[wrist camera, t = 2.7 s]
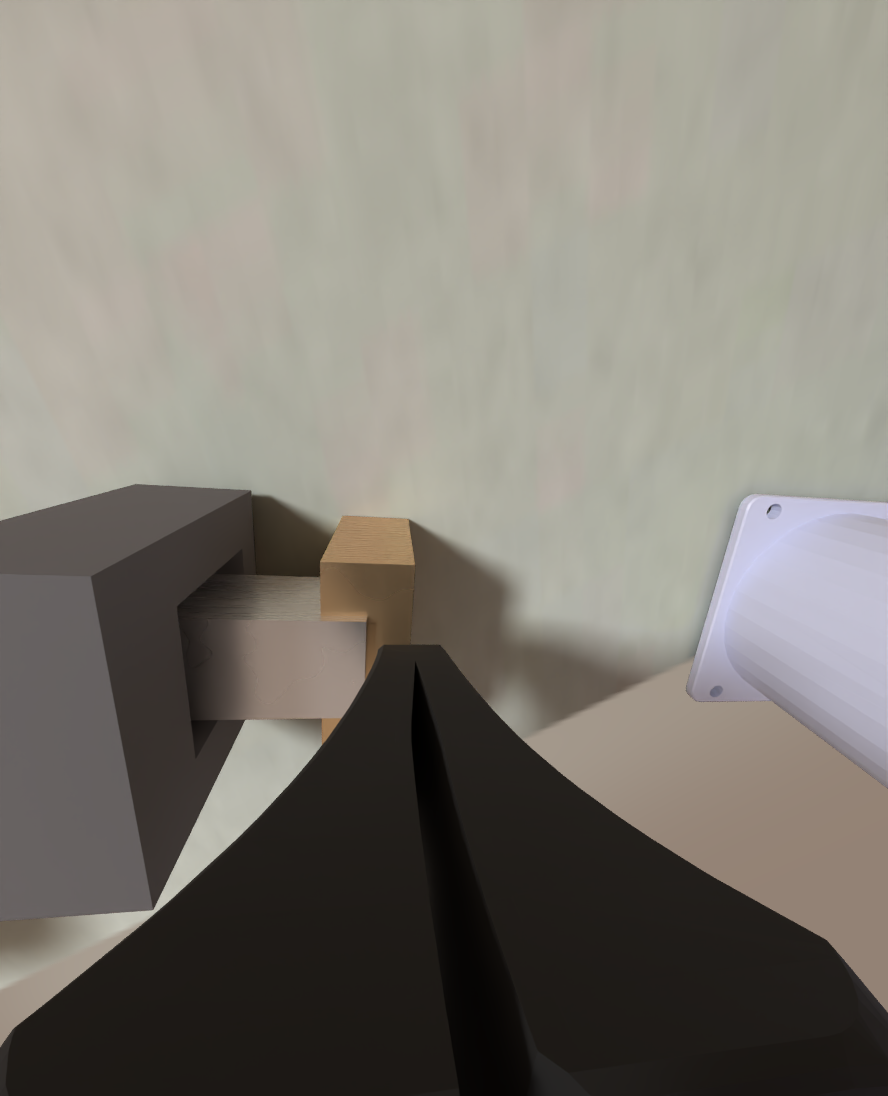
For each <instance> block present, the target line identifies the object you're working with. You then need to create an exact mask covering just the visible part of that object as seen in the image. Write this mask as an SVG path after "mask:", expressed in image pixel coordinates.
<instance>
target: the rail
mask: <svg viewBox="0 0 888 1096" xmlns="http://www.w3.org/2000/svg"><path fill="white" fill-rule="evenodd" d="M414 576H415V561H414V554H413V547H412V541H411V534H410V527H409V520H408V519H398V518H377V517H357V516H342V518H341V520H340V522H339V524H338V526H337V528H336V531H335V533H334V535H333V537H332V539H331V541H330V543H329V545H328V547H327V549H326V551H325V553H324V555H323V557H322V559H321V561H320V577H298V576H263V575H229V574H213V575H212V576H211V577H209V578H208V579H207V580H206V581H205V582H204V583H203V584H202V585H200V586H199V587H198V588H197V589H196V590H195V591H194V592H192V593H191V594H190V595H189V596H188V597H187V598H186V599H185V600H183V601H182V602H181V603H180V604H179V605H178V606H177V613H178V621H179V629H180V637H181V645H182V653H183V661H184V669H185V678H186V686H187V694H188V702H189V710H190V718H191V720H252V719H315V718H322V745H323V743H324V742H325V741H326V740H327V738H328V737H329V736H330V734H331V733H332V731H333V730H334V728H335V727H336V726H337V724H338V723H339V721H340V720H341V718H342V717H343V715H344V714H345V713H346V711H347V710H348V708H349V707H350V705H351V704H352V702H353V700H354V699H355V697H356V695H357V693H358V692H359V690H360V688H361V687H362V685H363V683H364V682H365V680H366V678H367V676H368V674H369V672H370V670H371V668H372V666H373V663H374V661H375V658H376V656H377V652H378V649H379V648H380V647H381V646H383V645H410V641H411V625H412V609H413V592H414Z"/></svg>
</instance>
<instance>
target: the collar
mask: <svg viewBox="0 0 888 1096" xmlns="http://www.w3.org/2000/svg"><path fill="white" fill-rule="evenodd" d="M213 574H229V575H256V564H255V547H254V531H253V514H252V497H251V491H249V490H231V489H213V488H194V487H176V486H158V485H140V484H135V485H131V486H127V487H124V488H120V489H116V490H113V491H109V492H105V493H102V494H98V495H94V496H90V497H87V498H83V499H79V500H76V501H72V502H68V503H65V504H61V505H57V506H53V507H50V508H46V509H42V510H39V511H35V512H31V513H28V514H24V515H20V516H16V517H13V518H9V519H5V520H2V521H0V921H10V920H24V919H38V918H52V917H65V916H79V915H93V914H107V913H120V912H134V911H148V910H153V909H154V907H155V905H156V903H157V901H158V899H159V897H160V895H161V893H162V891H163V889H164V887H165V885H166V882H167V880H168V878H169V876H170V874H171V872H172V870H173V868H174V866H175V864H176V862H177V860H178V858H179V856H180V854H181V851H182V849H183V847H184V845H185V843H186V841H187V839H188V837H189V835H190V833H191V831H192V829H193V827H194V825H195V823H196V820H197V818H198V816H199V814H200V812H201V810H202V808H203V806H204V804H205V802H206V800H207V798H208V796H209V794H210V792H211V789H212V787H213V785H214V783H215V781H216V779H217V777H218V775H219V773H220V771H221V769H222V767H223V765H224V763H225V761H226V758H227V756H228V754H229V752H230V750H231V748H232V746H233V744H234V742H235V740H236V738H237V736H238V734H239V732H240V730H241V727H242V725H243V723H244V721H245V720H191V718H190V710H189V702H188V694H187V686H186V678H185V669H184V661H183V653H182V645H181V637H180V629H179V621H178V613H177V606H178V605H179V604H180V603H181V602H182V601H183V600H185V599H186V598H187V597H188V596H189V595H190V594H191V593H192V592H194V591H195V590H196V589H197V588H198V587H199V586H200V585H202V584H203V583H204V582H205V581H206V580H207V579H208V578H209V577H211V576H212V575H213Z"/></svg>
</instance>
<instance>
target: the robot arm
mask: <svg viewBox="0 0 888 1096" xmlns="http://www.w3.org/2000/svg"><path fill="white" fill-rule="evenodd" d="M770 506H771V510H770V512H769V513H768V514H767V510H768V508H769V507H770ZM713 687H714V688H713ZM686 691H687V694H688V695H690V696H691V697H692V698H693V699H694V700H695V701H699V702H716V701H717V702H719V701H720V702H723V701H773V702H774V703H775V704H777V705H778V706H779V707H780V708H782V709H783V710H784V711H786V712H787V713H788V714H790V715H791V716H792V717H794V718H795V719H796V720H798V721H799V722H800V723H802V724H803V725H804V726H806V727H807V728H808V729H809V730H811V731H812V732H814V733H815V734H816V735H817V736H819V737H820V738H821V739H823V740H824V741H825V742H827V743H828V744H829V745H831V746H832V747H833V748H835V749H836V750H837V751H839V752H840V753H841V754H843V755H844V756H845V757H847V758H848V759H849V760H851V761H852V762H853V763H855V764H856V765H857V766H859V767H860V768H861V769H862V770H864V771H865V772H866V773H868V774H869V775H870V776H872V777H873V778H874V779H876V780H877V781H878V782H880V783H881V784H882V785H884V786H885V787H886V788H888V502H877V501H861V500H845V499H830V498H814V497H799V496H783V495H767V494H752V495H749V496H748V497H746V498H745V499H744V500H743V501H742V502H741V504H740V506H739V509H738V512H737V515H736V519H735V522H734V526H733V529H732V532H731V536H730V539H729V543H728V546H727V549H726V553H725V556H724V560H723V563H722V566H721V570H720V573H719V577H718V580H717V583H716V587H715V590H714V594H713V597H712V600H711V604H710V607H709V611H708V614H707V617H706V621H705V624H704V628H703V631H702V634H701V638H700V641H699V645H698V648H697V651H696V655H695V658H694V661H693V665H692V668H691V672H690V675H689V679H688V682H687V685H686ZM0 1096H888V1013H887V1011H886V1010H885V1009H884V1008H883V1006H882V1005H881V1004H880V1003H879V1002H878V1000H877V999H876V998H875V997H874V996H873V994H872V993H871V992H870V991H869V990H868V988H867V987H866V986H865V985H864V984H863V982H862V981H861V980H860V979H859V977H858V976H857V975H856V974H855V973H854V971H853V970H852V969H851V968H850V967H849V965H848V964H847V963H846V962H845V961H844V960H843V958H842V957H841V956H840V955H839V954H838V953H837V952H836V950H835V949H834V948H833V947H832V946H831V945H830V944H829V942H828V941H827V940H825V939H824V938H822V937H820V936H818V935H816V934H814V933H813V932H811V931H809V930H807V929H806V928H804V927H802V926H800V925H798V924H797V923H795V922H793V921H791V920H789V919H788V918H786V917H784V916H782V915H780V914H779V913H777V912H775V911H773V910H771V909H770V908H768V907H766V906H764V905H762V904H760V903H759V902H757V901H755V900H753V899H752V898H750V897H748V896H746V895H744V894H743V893H741V892H739V891H737V890H735V889H733V888H732V887H730V886H728V885H726V884H725V883H723V882H721V881H719V880H717V879H716V878H714V877H712V876H711V875H709V874H707V873H706V872H704V871H702V870H701V869H699V868H697V867H696V866H694V865H693V864H691V863H689V862H688V861H686V860H684V859H683V858H681V857H680V856H678V855H676V854H675V853H673V852H672V851H670V850H669V849H667V848H665V847H664V846H662V845H661V844H659V843H657V842H656V841H654V840H653V839H651V838H649V837H648V836H647V835H645V834H644V833H642V832H641V831H639V830H638V829H636V828H635V827H633V826H631V825H630V824H628V823H627V822H626V821H624V820H623V819H621V818H620V817H618V816H617V815H616V814H614V813H613V812H612V811H610V810H609V809H607V808H606V807H605V806H603V805H602V804H601V803H599V802H598V801H596V800H595V799H594V798H592V797H591V796H590V795H588V794H587V793H585V792H584V791H583V790H581V789H580V788H578V787H577V786H576V785H575V784H574V783H572V782H571V781H570V780H568V779H567V778H566V777H565V776H563V775H562V774H561V773H560V772H558V771H557V770H556V769H555V768H554V767H552V766H551V765H550V764H549V763H548V762H547V761H546V760H544V759H543V758H542V757H541V756H540V755H539V754H537V753H536V752H535V751H534V750H533V749H531V748H530V747H529V746H528V745H527V744H526V743H525V742H524V741H523V740H522V739H521V738H520V737H519V736H518V735H517V734H516V733H515V732H514V731H513V730H512V729H511V728H510V727H509V726H508V725H507V724H506V723H505V722H504V721H503V720H502V719H501V718H500V717H499V716H498V715H497V714H496V713H495V712H494V711H493V709H492V708H491V707H490V706H489V705H488V704H487V703H486V702H485V700H484V699H483V698H482V697H481V696H480V695H479V693H478V692H477V691H476V690H475V689H474V688H473V686H472V685H471V684H470V683H469V681H468V680H467V679H466V678H465V676H464V675H463V674H462V673H461V671H460V670H459V669H458V667H457V666H456V665H455V663H454V662H453V661H452V659H451V658H450V657H449V655H448V654H447V653H446V651H445V650H444V649H443V648H442V647H441V645H383V646H381V647H380V648H379V649H378V652H377V656H376V658H375V661H374V663H373V666H372V668H371V670H370V672H369V674H368V676H367V678H366V680H365V682H364V683H363V685H362V687H361V688H360V690H359V692H358V693H357V695H356V697H355V699H354V700H353V702H352V704H351V705H350V707H349V708H348V710H347V711H346V713H345V714H344V715H343V717H342V718H341V720H340V721H339V723H338V724H337V726H336V727H335V728H334V730H333V731H332V733H331V734H330V736H329V737H328V738H327V740H326V741H325V742H324V743H323V745H322V746H321V747H320V749H319V750H318V751H317V753H316V754H315V755H314V756H313V757H312V759H311V760H310V761H309V762H308V764H307V765H306V766H305V767H304V768H303V769H302V771H301V772H300V773H299V774H298V775H297V777H296V778H295V779H294V780H293V781H292V782H291V783H290V784H289V786H288V787H287V788H286V789H285V790H284V791H283V792H282V793H281V794H280V795H279V796H278V797H277V798H276V800H275V801H274V802H273V803H272V804H271V805H270V806H269V807H268V808H267V809H266V810H265V811H264V812H263V813H262V815H261V816H260V817H259V818H258V819H257V820H256V821H255V822H254V823H253V824H252V825H251V826H250V827H249V828H248V829H247V830H246V831H245V832H244V833H243V834H242V835H241V836H240V837H239V838H238V839H237V840H236V841H234V842H233V843H232V844H231V845H230V846H229V847H228V848H227V849H226V850H225V851H224V852H222V853H221V854H220V855H219V856H218V857H217V858H216V859H215V860H214V861H213V862H212V863H211V864H209V865H208V866H207V867H206V868H205V869H204V870H203V871H202V872H201V873H200V874H199V875H197V876H196V877H195V878H194V879H193V880H192V881H191V882H190V883H189V884H188V885H187V886H186V887H184V888H183V889H182V890H181V891H180V892H179V893H178V894H177V895H176V896H175V897H174V898H172V899H171V900H170V901H169V902H168V903H167V904H166V905H164V906H163V907H162V908H161V909H160V910H159V911H157V912H156V913H155V914H154V915H153V916H152V917H151V918H149V919H148V920H147V921H146V922H145V923H143V924H142V925H141V926H140V927H139V928H137V929H136V930H135V931H134V932H132V933H131V934H130V935H129V936H127V937H126V938H125V939H124V940H123V941H121V942H120V943H119V944H118V945H116V946H115V947H114V948H113V949H112V950H110V951H109V952H108V953H107V954H105V955H104V956H103V957H102V958H101V959H99V960H98V961H97V962H96V963H94V964H93V965H92V966H91V967H90V968H88V969H87V970H86V971H85V972H84V973H82V974H81V975H80V976H79V977H77V978H76V979H75V980H74V981H72V982H71V983H70V984H69V985H68V986H66V987H65V988H64V989H63V990H61V991H60V992H59V993H58V994H56V995H55V996H54V997H53V998H52V999H50V1000H49V1001H48V1002H47V1003H45V1004H44V1005H43V1006H42V1007H40V1008H39V1009H38V1010H37V1011H35V1012H34V1013H33V1014H31V1015H30V1016H29V1017H28V1018H26V1019H25V1020H24V1021H23V1022H21V1023H20V1024H19V1025H17V1026H16V1027H15V1028H14V1029H13V1030H12V1032H11V1033H10V1034H9V1036H8V1037H7V1039H6V1040H5V1041H4V1043H3V1044H2V1046H1V1047H0Z"/></svg>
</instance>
